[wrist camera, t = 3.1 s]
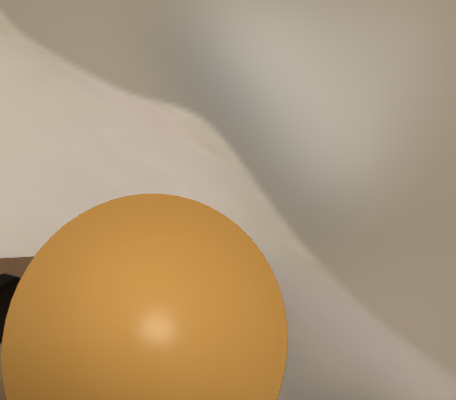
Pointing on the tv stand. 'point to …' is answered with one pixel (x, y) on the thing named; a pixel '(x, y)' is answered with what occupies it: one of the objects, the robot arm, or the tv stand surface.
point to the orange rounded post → (146, 309)
